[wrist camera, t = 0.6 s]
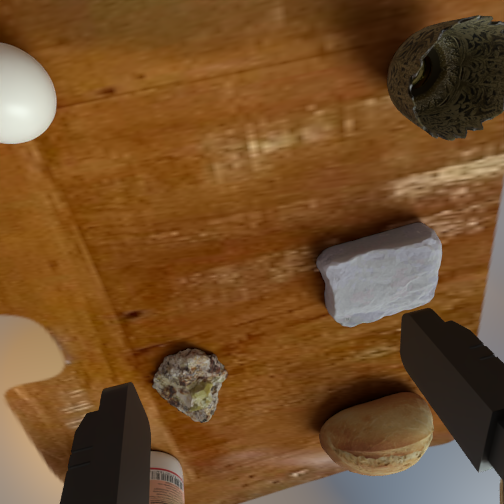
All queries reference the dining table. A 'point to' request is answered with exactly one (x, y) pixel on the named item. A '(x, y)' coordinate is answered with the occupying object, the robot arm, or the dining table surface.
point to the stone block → (380, 274)
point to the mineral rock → (191, 382)
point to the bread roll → (379, 434)
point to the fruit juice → (165, 479)
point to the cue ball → (24, 96)
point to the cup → (450, 76)
